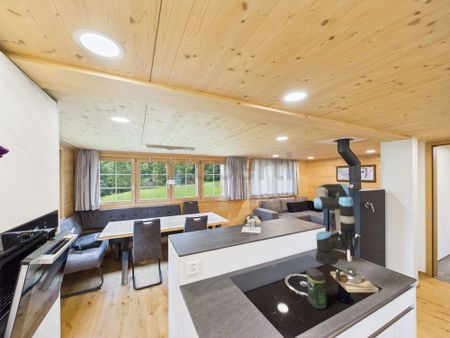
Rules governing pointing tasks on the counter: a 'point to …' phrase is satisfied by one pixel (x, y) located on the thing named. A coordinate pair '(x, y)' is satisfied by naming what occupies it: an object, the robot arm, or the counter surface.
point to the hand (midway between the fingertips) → (350, 260)
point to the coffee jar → (316, 288)
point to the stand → (357, 285)
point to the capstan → (348, 276)
